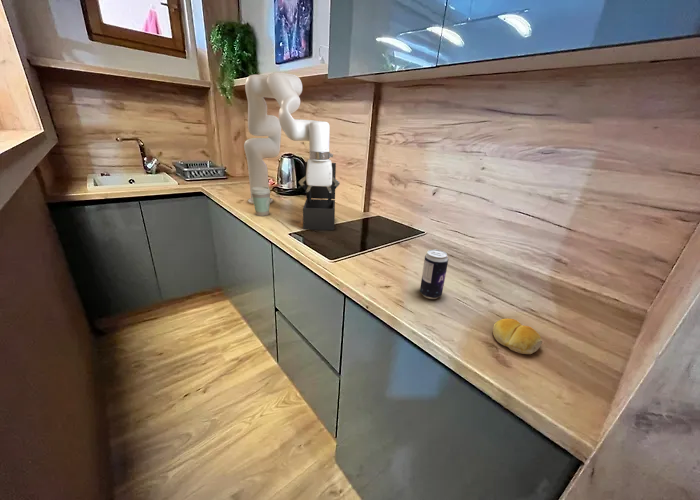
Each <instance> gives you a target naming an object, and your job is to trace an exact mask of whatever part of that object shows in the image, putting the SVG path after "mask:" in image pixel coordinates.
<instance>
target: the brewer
mask: <svg viewBox="0 0 700 500" xmlns="http://www.w3.org/2000/svg"><path fill="white" fill-rule="evenodd" d="M335 217H336V199H331V200H330V203H328V199H313V198H311V202H309V200H307V198H306V199H305V202H304V205H303V207H302V229H303V230H312V231H313V230H315V231H335V223H336V222H335V221H336V220H335V219H336V218H335Z"/></svg>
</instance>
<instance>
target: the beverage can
mask: <svg viewBox="0 0 700 500" xmlns="http://www.w3.org/2000/svg"><path fill="white" fill-rule="evenodd" d="M426 252H427V253H426V254H425V256H424V259H423V267H422V273H421V280H420V288H419V292H420V294H421V295H422V296H423V297H424V298H426V299H429V300H436V299H438V298H440V297H442V295H443V290H444V287H445V286H444V285H445V279H446V275H447V270H448V264H449V258H448V253H447V252H446V251H444V250H440V249H429V250H428V251H426Z"/></svg>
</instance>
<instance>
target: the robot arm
mask: <svg viewBox="0 0 700 500" xmlns="http://www.w3.org/2000/svg"><path fill="white" fill-rule="evenodd" d="M244 84H245V85H244V88H245V89H244V90H245V94H246V95H245V96H246V99H247V130H248V133H249V134H250V135H252V136H255V137H251V138H248V139H246V140H245V141H244V144H243V149H244V153H245V158H246V161H247V173H248V182H249V183H248V184H249V194H250V198H248V199H247V203H248V204H251V205H254V202H253V197H252V193H251V191H252V188H253V187H269V188H270V185H269V184H270V183H269V181H270V180H269V168H268V165H267V164H266V162H265V161H264V159H273V158H276V157H278V156H279V155H280V152H281V142H282V131H283V132H284V134H285V136H286V137H287V138H288V139H290V140H291V141H294V142H298V141H299V142H300V141H301V142H303V141H304V142H309V158H308V159H307V161H306V162H307V171H306V176H304V177H302V178H301V179H300V180H299V181H298V184H299V185H300V186H301V187H302V189H303V190H304V191H305V193H306V192H307V198H306V199H307V200H309V202H311V199H312V198H311V191H310V189H311V187H312V186H322V187H327V189H328V199H327V200H328V203H330V200H332V199H331V193H332V192H333V191H334V190H335V191H336V190H337V188H338V187H339V186H340V185H341V184H340V183H341V182H340V181H338V179H336V178H334V177H333V176H332V163H333V162H332V160H331V158H334V153H331V152H330V138H331V136H330V135H331V133H330V132H331V126H330V123H329V122H328V121H323V120H322V121H321V120H314V119H300V118H299V119H298V118H297V119H296V118H294V117H293V116H292V115H293V113H295V112H296V111H298V110H299V108H300V106H301V97H300V96H301V94H302V93H303V83H302V80H301V78H300V77H299V76H298V75H296V74H294V73H287V72H281V71H275V72H271V73H270V74H269V75H264V74H250V75H249V76H247V78H246V80H245V83H244ZM265 98H267V99H275V101H276V103H277V104H278V106H279V110H278V116H276V115H273V114H268V104H267V103H268V102H267V101H266V100H265ZM332 181H333V182H334V183H335V185H334V186H333V187H332V188H331V185H332ZM306 183H307V185H309V186H308V187H307V186H306ZM273 202H274V199H273V198H271V197H270V204H272V203H273Z"/></svg>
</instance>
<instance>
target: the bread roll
mask: <svg viewBox="0 0 700 500" xmlns="http://www.w3.org/2000/svg"><path fill="white" fill-rule="evenodd" d="M492 335H493V338H494V339H495V341H497V343H499V344H500V345H502V346H503V347H507V348H508V349H509V350H511V352H515V353H518V354H523V355H531V354H533V353H535V352H537V351H538V350H539V349H540V348H541V346H542V345H543V340H542V337H541V335H540V334H539V333H538V331H536V329H534V328H533V327H531V326H528V325H522V323H521V322H520V321H518V320H517V319H514V318H509V317H507V318H502V319H499V320H497V321H495V323H494V324H493V327H492Z"/></svg>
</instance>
